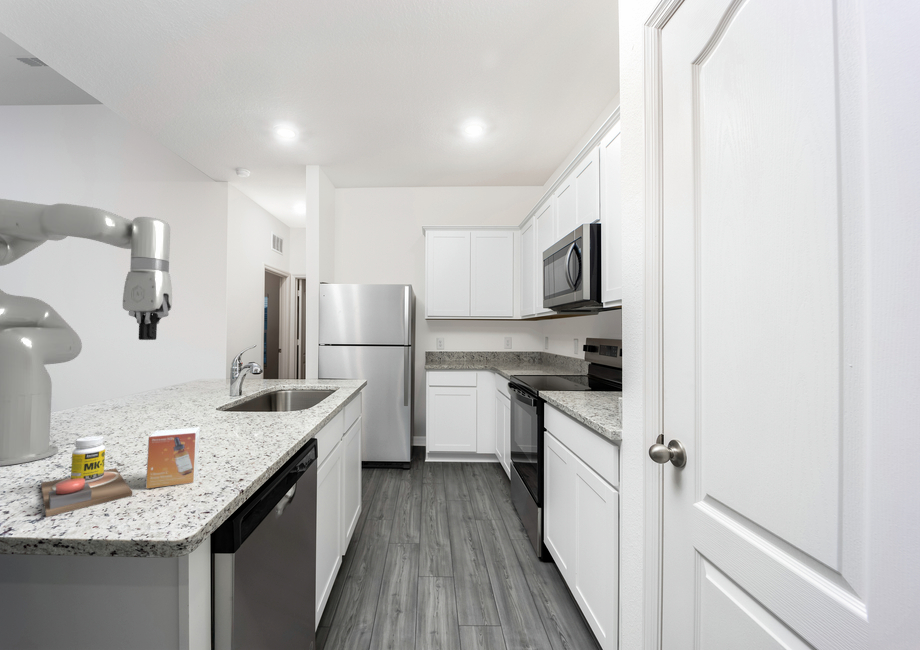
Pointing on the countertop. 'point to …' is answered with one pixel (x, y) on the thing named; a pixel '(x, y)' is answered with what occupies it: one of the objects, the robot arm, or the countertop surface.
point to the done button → (70, 486)
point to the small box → (172, 457)
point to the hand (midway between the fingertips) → (147, 339)
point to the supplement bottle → (88, 459)
